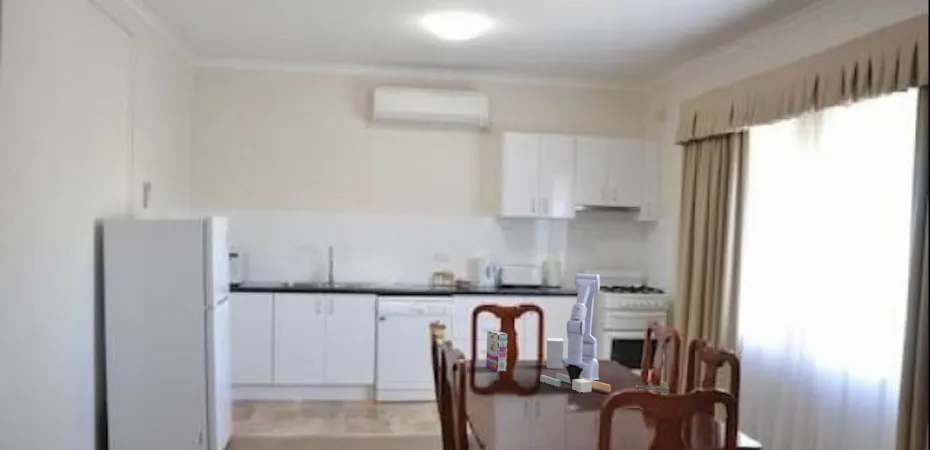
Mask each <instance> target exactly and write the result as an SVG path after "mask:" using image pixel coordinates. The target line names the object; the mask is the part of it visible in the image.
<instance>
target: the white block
mask: <svg viewBox="0 0 930 450" xmlns="http://www.w3.org/2000/svg"><path fill="white" fill-rule="evenodd" d="M571 385H572V386H571V389H572V391H573V390H574V391H575V390H576V392H578V393H580V394H581V392H583V393H591V392H592V390H593V389H592V388H593V387H592V382H591V381H588V380H585V379H572V384H571Z"/></svg>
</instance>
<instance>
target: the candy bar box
mask: <svg viewBox="0 0 930 450" xmlns="http://www.w3.org/2000/svg"><path fill="white" fill-rule="evenodd" d="M486 333H487V334H486V354H485V355H486V359H485V367H486V369H489V370H492V371H494V372H497V373H501V372H502V373H503V372H507V368H508V367H507V365H508V343H509V342H508V338H509V334H508V333H505V332H502V331H499V330H487V332H486Z"/></svg>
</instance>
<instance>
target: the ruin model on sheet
mask: <svg viewBox="0 0 930 450" xmlns="http://www.w3.org/2000/svg"><path fill="white" fill-rule="evenodd" d="M639 389H648V390H653V391H657V392H661V393H667V394H670V393H669V392H670V391H669V390H670V388H669V384H668V381H661V383H660V386H659V385H658V386H656V385H642V386H638V385H637V384H636V385H635V391H636V390H639Z"/></svg>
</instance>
